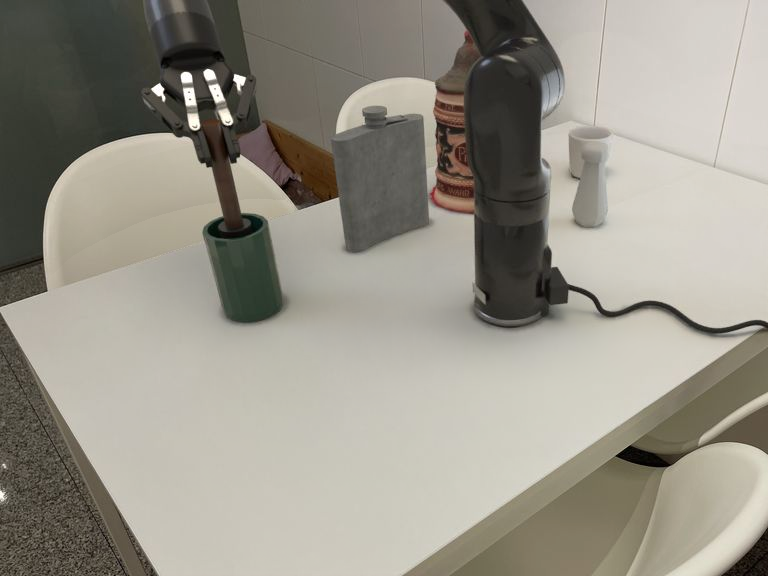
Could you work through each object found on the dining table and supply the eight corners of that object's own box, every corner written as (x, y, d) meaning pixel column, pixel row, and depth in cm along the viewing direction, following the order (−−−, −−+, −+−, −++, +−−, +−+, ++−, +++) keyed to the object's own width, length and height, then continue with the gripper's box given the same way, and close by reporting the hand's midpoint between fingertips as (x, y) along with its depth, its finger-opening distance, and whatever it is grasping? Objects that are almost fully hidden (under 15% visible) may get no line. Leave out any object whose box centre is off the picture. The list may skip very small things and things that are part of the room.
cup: (614, 188, 126) (618, 145, 121) (569, 189, 126) (572, 145, 121) (605, 166, 134) (609, 125, 130) (563, 167, 135) (566, 125, 130)
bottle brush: (259, 250, 93) (230, 115, 83) (257, 265, 90) (227, 126, 79) (228, 254, 93) (195, 117, 82) (225, 268, 89) (190, 128, 79)
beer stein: (482, 232, 118) (538, 187, 129) (490, 66, 98) (554, 29, 109) (406, 200, 124) (465, 160, 135) (398, 38, 105) (468, 7, 116)
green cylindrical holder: (284, 288, 99) (268, 210, 92) (283, 318, 93) (266, 237, 86) (226, 294, 98) (206, 216, 91) (221, 325, 92) (199, 243, 85)
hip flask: (353, 254, 107) (336, 124, 95) (338, 245, 110) (320, 117, 98) (433, 222, 116) (426, 99, 104) (417, 215, 118) (409, 94, 106)
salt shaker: (566, 226, 114) (572, 148, 106) (575, 212, 118) (581, 136, 110) (602, 231, 112) (610, 152, 104) (610, 217, 116) (618, 140, 108)
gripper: (114, 15, 78) (155, 157, 76) (241, 3, 82) (282, 137, 80) (126, 55, 85) (163, 186, 83) (242, 42, 89) (279, 166, 87)
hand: (221, 161), depth 82 cm, fingers closed on bottle brush, 2 cm apart
